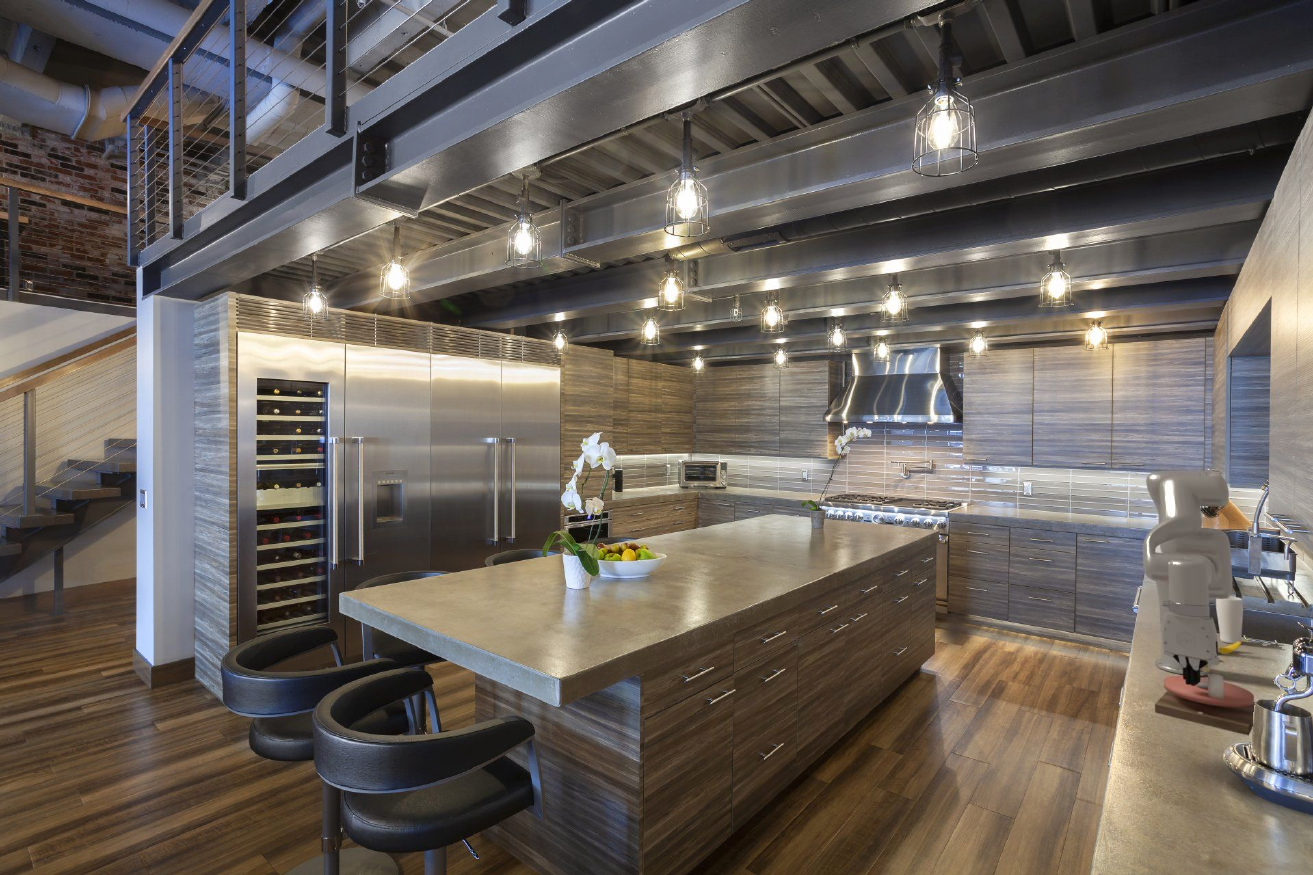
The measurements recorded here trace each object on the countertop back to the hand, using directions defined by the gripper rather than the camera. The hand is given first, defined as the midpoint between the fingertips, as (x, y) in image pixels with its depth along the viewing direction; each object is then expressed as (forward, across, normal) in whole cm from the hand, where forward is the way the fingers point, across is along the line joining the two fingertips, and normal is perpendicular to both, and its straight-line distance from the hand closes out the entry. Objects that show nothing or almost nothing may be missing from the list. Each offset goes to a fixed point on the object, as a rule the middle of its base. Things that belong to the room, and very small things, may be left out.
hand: (1191, 683), depth 154 cm
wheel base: (+8, +1, +6) cm, 10 cm away
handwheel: (+3, +1, +7) cm, 7 cm away
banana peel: (+8, -14, +63) cm, 65 cm away
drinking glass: (+8, -14, +84) cm, 86 cm away
